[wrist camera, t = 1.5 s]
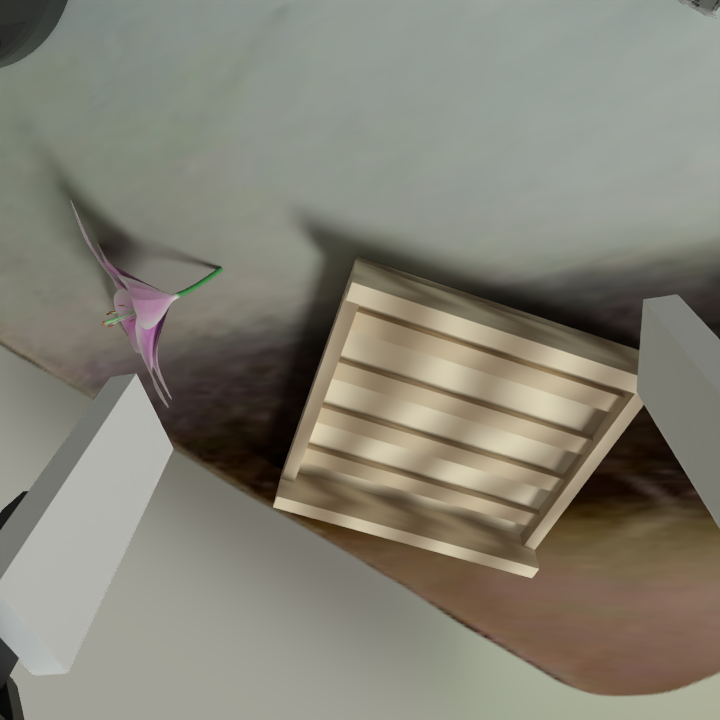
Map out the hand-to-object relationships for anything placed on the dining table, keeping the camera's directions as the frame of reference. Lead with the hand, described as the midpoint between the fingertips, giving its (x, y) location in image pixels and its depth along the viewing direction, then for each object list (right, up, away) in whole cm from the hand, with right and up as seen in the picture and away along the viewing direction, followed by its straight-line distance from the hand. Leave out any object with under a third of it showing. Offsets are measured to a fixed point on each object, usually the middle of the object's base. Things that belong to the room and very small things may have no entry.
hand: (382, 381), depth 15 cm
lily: (-14, +6, +23) cm, 27 cm away
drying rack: (+6, -4, +27) cm, 28 cm away
